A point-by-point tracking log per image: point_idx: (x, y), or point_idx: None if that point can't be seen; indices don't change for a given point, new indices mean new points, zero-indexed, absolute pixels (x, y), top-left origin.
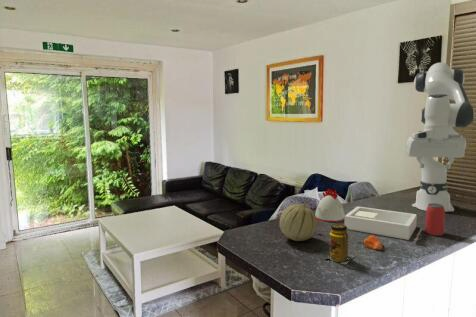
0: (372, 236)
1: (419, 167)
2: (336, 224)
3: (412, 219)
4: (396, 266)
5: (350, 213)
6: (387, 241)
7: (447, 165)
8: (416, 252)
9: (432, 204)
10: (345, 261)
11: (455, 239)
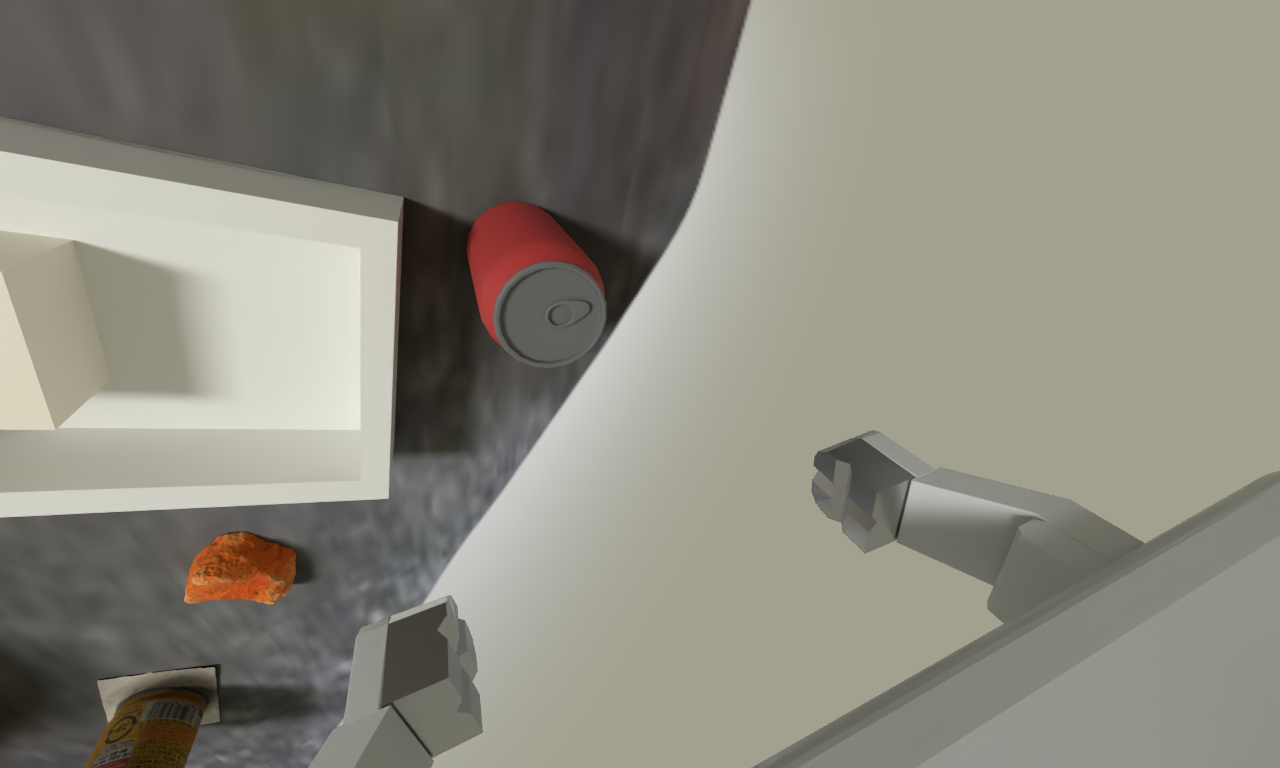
0: (213, 584)
1: (370, 640)
2: None
3: (386, 372)
4: None
5: None
6: None
7: (864, 534)
8: (441, 519)
9: (529, 275)
10: (204, 708)
11: None
